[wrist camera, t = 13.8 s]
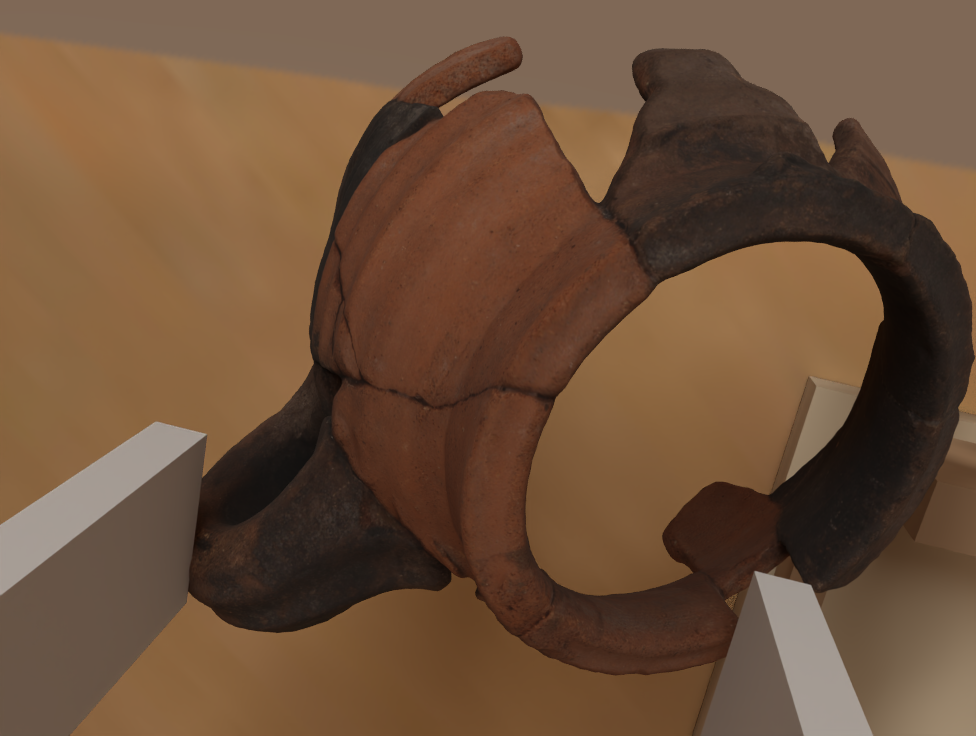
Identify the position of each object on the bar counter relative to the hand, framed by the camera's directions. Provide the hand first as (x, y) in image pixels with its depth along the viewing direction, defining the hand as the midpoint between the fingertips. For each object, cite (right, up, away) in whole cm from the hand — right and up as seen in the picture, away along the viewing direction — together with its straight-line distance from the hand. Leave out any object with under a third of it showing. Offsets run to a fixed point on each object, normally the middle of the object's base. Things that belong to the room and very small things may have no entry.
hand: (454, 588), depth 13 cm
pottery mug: (+2, +4, +5) cm, 6 cm away
